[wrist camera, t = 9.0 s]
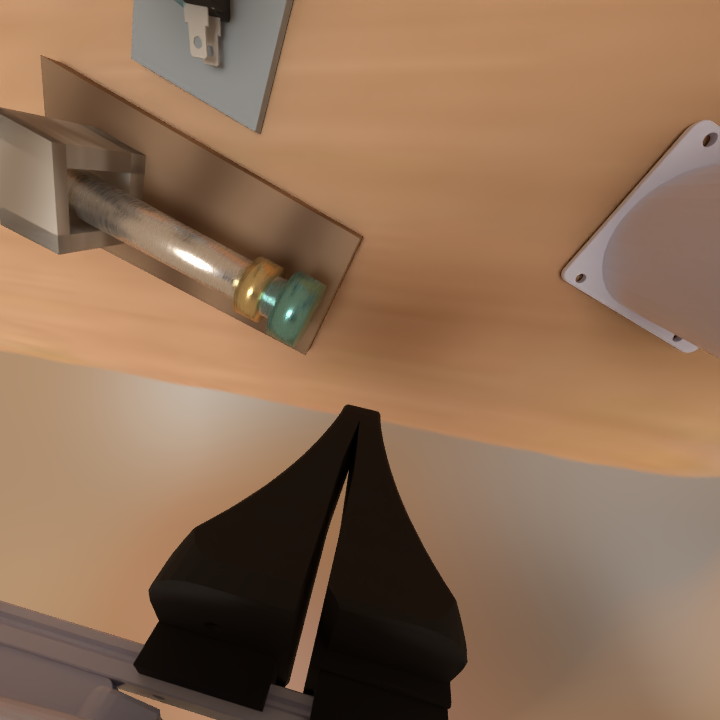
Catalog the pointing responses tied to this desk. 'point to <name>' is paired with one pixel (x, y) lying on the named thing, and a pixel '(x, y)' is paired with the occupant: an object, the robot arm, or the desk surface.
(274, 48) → the pad
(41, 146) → the bracket
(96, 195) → the shaft
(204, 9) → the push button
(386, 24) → the desk surface
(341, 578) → the robot arm
